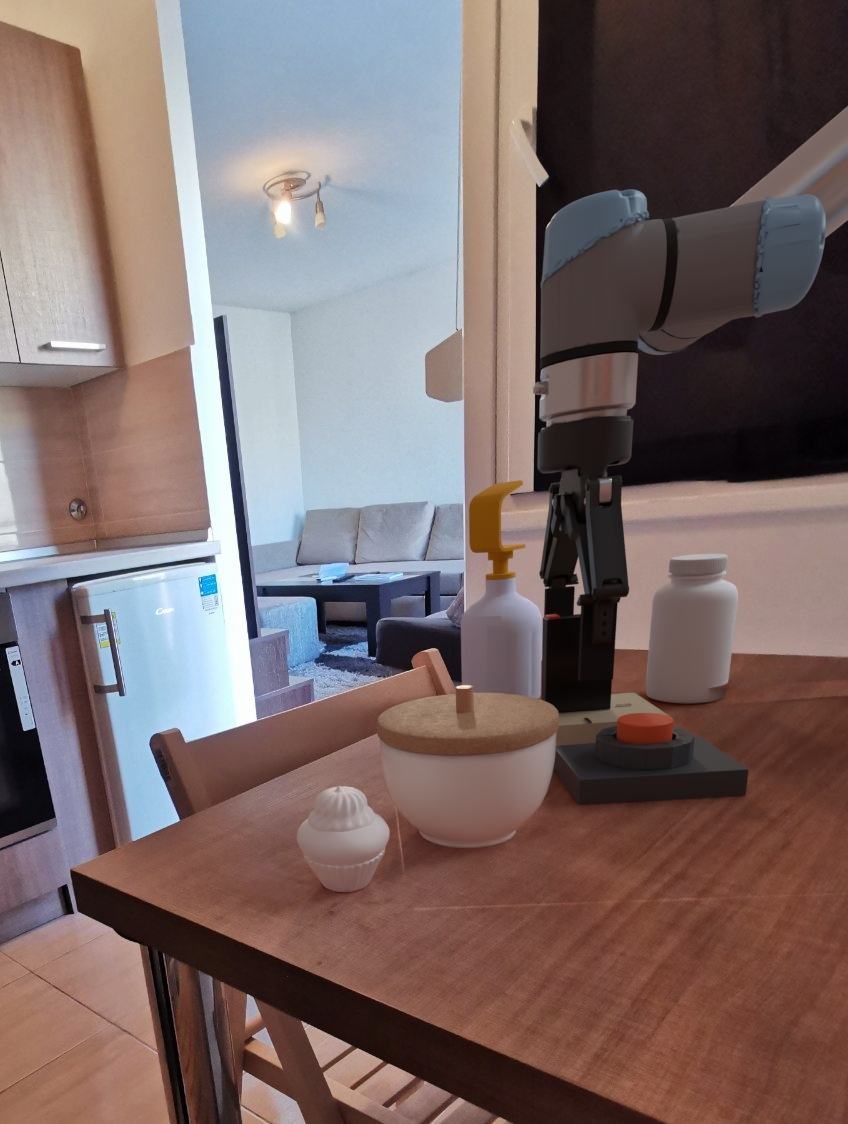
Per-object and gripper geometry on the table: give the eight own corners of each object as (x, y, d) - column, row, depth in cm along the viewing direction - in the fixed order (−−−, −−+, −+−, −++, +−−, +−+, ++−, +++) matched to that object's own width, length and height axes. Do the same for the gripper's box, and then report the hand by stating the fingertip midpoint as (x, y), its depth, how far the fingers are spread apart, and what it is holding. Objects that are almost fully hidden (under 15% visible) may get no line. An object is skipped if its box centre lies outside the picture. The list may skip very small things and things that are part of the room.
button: (661, 731, 63) (662, 710, 62) (680, 745, 59) (681, 723, 59) (610, 734, 64) (611, 714, 63) (625, 748, 60) (626, 727, 59)
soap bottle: (556, 695, 91) (561, 475, 83) (506, 713, 87) (507, 481, 78) (495, 687, 98) (494, 483, 90) (446, 703, 94) (440, 490, 85)
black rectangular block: (605, 704, 74) (609, 608, 71) (610, 708, 73) (615, 610, 70) (540, 709, 75) (542, 614, 72) (544, 713, 74) (547, 617, 71)
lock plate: (632, 720, 79) (634, 690, 78) (669, 749, 69) (672, 715, 68) (492, 730, 81) (492, 701, 80) (510, 759, 72) (510, 727, 70)
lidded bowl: (366, 859, 55) (356, 711, 51) (400, 797, 66) (393, 671, 62) (554, 870, 50) (558, 707, 46) (557, 801, 61) (561, 664, 57)
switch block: (697, 760, 66) (701, 715, 65) (745, 796, 58) (751, 746, 56) (551, 769, 68) (552, 726, 67) (579, 805, 60) (580, 757, 58)
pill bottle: (725, 706, 79) (741, 557, 74) (640, 704, 84) (649, 563, 79) (729, 688, 85) (744, 549, 80) (649, 687, 90) (659, 555, 85)
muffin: (304, 907, 49) (294, 807, 47) (298, 867, 55) (289, 776, 53) (400, 898, 49) (395, 796, 47) (383, 858, 55) (378, 766, 52)
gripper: (512, 437, 77) (509, 645, 85) (577, 407, 54) (566, 697, 62) (590, 427, 76) (580, 640, 84) (691, 393, 53) (665, 690, 60)
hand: (574, 665), depth 73 cm, fingers open, 13 cm apart
